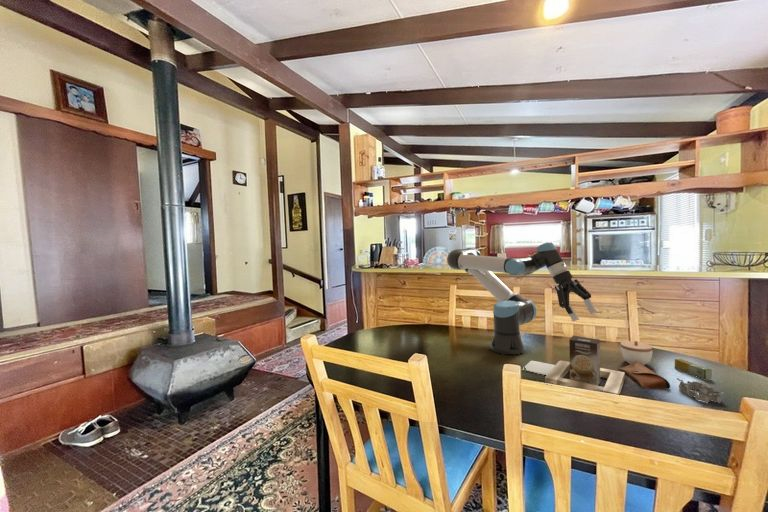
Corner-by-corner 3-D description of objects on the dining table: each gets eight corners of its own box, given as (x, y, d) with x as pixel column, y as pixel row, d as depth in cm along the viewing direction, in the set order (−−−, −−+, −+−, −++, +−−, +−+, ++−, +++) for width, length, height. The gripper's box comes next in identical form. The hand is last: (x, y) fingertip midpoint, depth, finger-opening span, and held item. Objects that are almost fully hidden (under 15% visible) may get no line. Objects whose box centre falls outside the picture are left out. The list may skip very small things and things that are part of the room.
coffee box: (569, 381, 121) (567, 339, 120) (573, 375, 126) (572, 335, 125) (598, 387, 115) (596, 343, 114) (601, 381, 119) (600, 338, 119)
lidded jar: (659, 368, 128) (658, 345, 128) (628, 367, 130) (628, 345, 130) (643, 358, 139) (643, 337, 138) (615, 358, 141) (615, 337, 140)
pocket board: (545, 383, 120) (544, 377, 120) (559, 366, 135) (559, 360, 135) (617, 401, 105) (617, 393, 105) (624, 378, 121) (624, 372, 120)
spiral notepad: (521, 370, 133) (521, 369, 133) (531, 361, 142) (531, 360, 142) (548, 376, 126) (547, 374, 126) (556, 366, 135) (556, 365, 135)
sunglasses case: (615, 368, 130) (624, 354, 129) (631, 377, 129) (641, 363, 129) (643, 388, 112) (654, 372, 112) (663, 399, 112) (674, 383, 111)
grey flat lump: (674, 388, 112) (674, 377, 112) (699, 389, 111) (699, 377, 111) (699, 403, 101) (699, 391, 101) (727, 404, 100) (726, 391, 100)
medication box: (712, 380, 116) (712, 369, 116) (705, 381, 116) (705, 370, 116) (680, 368, 128) (680, 358, 128) (673, 368, 128) (673, 358, 128)
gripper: (549, 275, 140) (575, 321, 133) (582, 265, 151) (608, 307, 144) (536, 281, 146) (560, 326, 139) (569, 271, 158) (593, 312, 151)
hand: (585, 316), depth 142 cm, fingers open, 13 cm apart
